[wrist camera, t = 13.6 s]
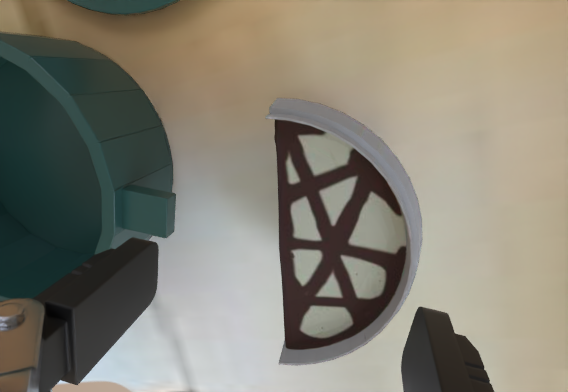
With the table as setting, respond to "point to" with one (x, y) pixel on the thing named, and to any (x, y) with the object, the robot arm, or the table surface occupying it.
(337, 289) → the food container
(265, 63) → the table surface
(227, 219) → the table surface
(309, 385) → the table surface
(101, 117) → the pot
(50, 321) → the robot arm
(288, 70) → the table surface
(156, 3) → the pot lid
